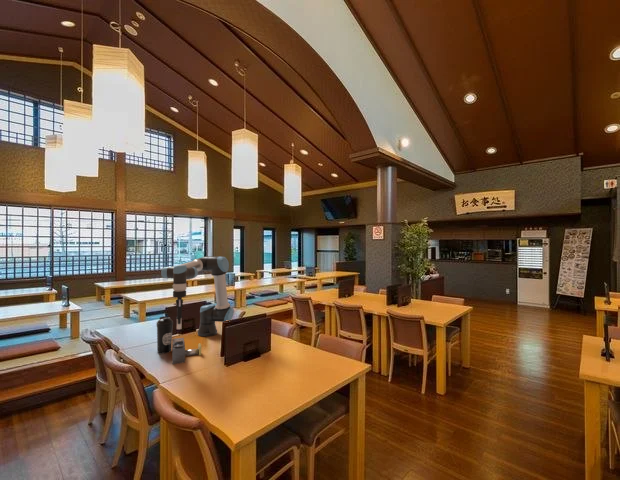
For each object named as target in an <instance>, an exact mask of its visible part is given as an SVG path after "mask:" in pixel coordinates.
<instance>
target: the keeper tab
mask: <svg viewBox="0 0 620 480" xmlns="http://www.w3.org/2000/svg"><path fill="white" fill-rule="evenodd" d="M178 345H183V340H176V341H175V344H174V346H178Z"/></svg>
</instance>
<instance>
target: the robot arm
mask: <svg viewBox="0 0 620 480" xmlns="http://www.w3.org/2000/svg"><path fill="white" fill-rule="evenodd" d="M229 269H230V263H229V260H228V259H227V257H226V256H214V255H213V256H210V255H209V256H203V257H198V258H195V259H193V260H192V261H188V262H186V263H181V264H177V265H176V264H175V265H174V266H164V267H163V268H162V269H161V272H160V274H161V277H162V278H163V279H167V280H168V279H172V280H173V282H172V283H173V285H171V287H172V290H173V291H172V297H173V298H177V299H175V305H176V306H175V307H176V317H175V319H176V330H182V328H183V327H182V326H183V325H182V323H183V322H182V320H183V319H182V318H183V316H182V315H183V311H182V310H183V307H184V306H183V305H184V304H183V303H184V299H183V298H185V297H186V296H187V280H192V279H195V278H196V277H198V274H199V272H211V273H210V274H211V276H213V280H214V281H213V282H214V291H215V300H216V304H213V303H211V304H205V305H202V306H200V310H199V327H198V331H197V335H198V337H212V336H215V335H217V334H218V329H217V326H216V323H217V322H220V323H225V322H224V321H226V320H231V321H232V319H233V317H234V312H235V310H234V307H232V306H231V304H230V303H229V301H228V291H227V282H226V279H227V278H226V274H227V272H228V271H229Z"/></svg>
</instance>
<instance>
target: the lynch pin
mask: <svg viewBox="0 0 620 480" xmlns="http://www.w3.org/2000/svg"><path fill="white" fill-rule="evenodd" d="M197 347H198V348H193V349H185V357H187V356H195V355H197V356H200V357H201V356H202V349H203V348H202V347H203V346H202V343H201V342H200V343H198V345H197Z"/></svg>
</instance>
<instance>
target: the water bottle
mask: <svg viewBox="0 0 620 480" xmlns="http://www.w3.org/2000/svg"><path fill="white" fill-rule="evenodd" d="M173 325H174V321H173V320H172V319H171V317H169V316H168V317H167V316H166V315H165V316H160V317H159V319H158V320H157V322H156V339H157V346H156V347H157V353H158V354H160V353H164V354H167V353H168V354H169V353H172V339H173Z"/></svg>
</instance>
